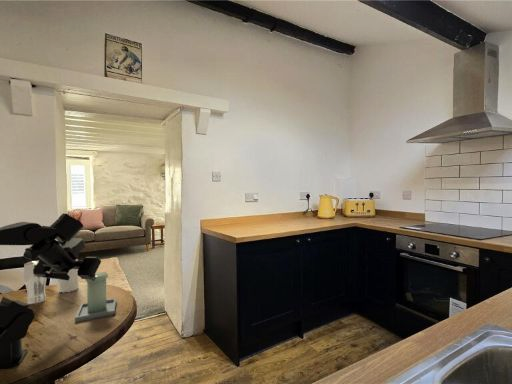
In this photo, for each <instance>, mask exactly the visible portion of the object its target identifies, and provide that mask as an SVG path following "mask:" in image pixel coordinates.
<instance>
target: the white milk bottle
mask: <svg viewBox="0 0 512 384" xmlns="http://www.w3.org/2000/svg"><path fill="white" fill-rule="evenodd" d="M78 259H79V258H78ZM78 259H76V260H75V261H79V260H78ZM77 271H78V269H71V270H69V272H68V275H69V277H70V278H69V280H61V279H57V280H58V292H59V293H61V292H62V293H61V294H63V293H65V292H67V293H71V291H72V292H75V291H77V290H78V289H79V276H78V275H77ZM74 290H75V291H74ZM65 294H66V293H65Z"/></svg>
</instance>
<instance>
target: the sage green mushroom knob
mask: <svg viewBox="0 0 512 384" xmlns="http://www.w3.org/2000/svg"><path fill="white" fill-rule="evenodd" d="M95 275H96V279H95V281H90V280H86V279H84V280H85V281H86V283H87V284H86V287H87V288H86V289H87V291H86V294H87V295H86V297H87V302H86V303H87V307H88V312H89V313H97V312H101V311H103V310H105V309H106V300H107V278H108V277H109V274H108V272H96V273H95Z"/></svg>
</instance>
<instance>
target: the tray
mask: <svg viewBox="0 0 512 384" xmlns="http://www.w3.org/2000/svg"><path fill="white" fill-rule="evenodd" d="M116 306H117V298H116V297H115V298H110V299H106V309H105V310H103V311H101V312H97V313H89V312H88V307H87V302H84V303H81V304H80V305H79V308H78V309H77V312H76V314H75V316H74V323H78V322H84V321H90V320H94V319H100V318H105V317H111V316H115V312H116Z"/></svg>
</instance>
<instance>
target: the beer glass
mask: <svg viewBox="0 0 512 384" xmlns="http://www.w3.org/2000/svg"><path fill="white" fill-rule="evenodd" d="M39 260H40V259H39ZM39 260H31V261H28V262H26V263H24V264H23V265H24V266H23V267H24V268H23V279H24V284H25V288H26V291H27V292H26V293H27V297H26V300H25V301H26V304H28V305H37V304H39V303H40V304H41V303H43V302H45V301H46V300H47V295H46V285H47V284H46V283H47V279H48V278H43V277H37V276H36V275H34V274H33V269H34V268H35V266H36V265H37V263H38V262H39Z"/></svg>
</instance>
